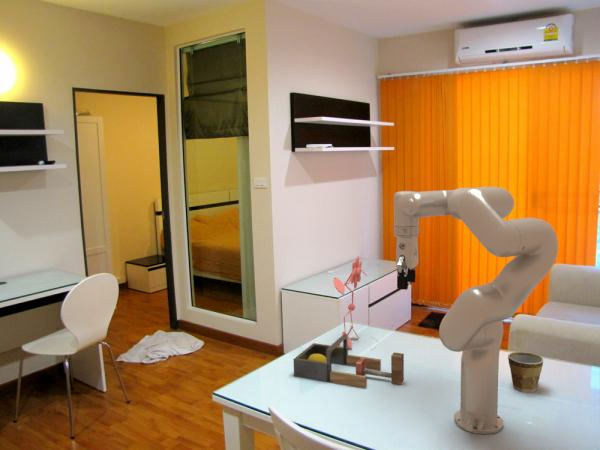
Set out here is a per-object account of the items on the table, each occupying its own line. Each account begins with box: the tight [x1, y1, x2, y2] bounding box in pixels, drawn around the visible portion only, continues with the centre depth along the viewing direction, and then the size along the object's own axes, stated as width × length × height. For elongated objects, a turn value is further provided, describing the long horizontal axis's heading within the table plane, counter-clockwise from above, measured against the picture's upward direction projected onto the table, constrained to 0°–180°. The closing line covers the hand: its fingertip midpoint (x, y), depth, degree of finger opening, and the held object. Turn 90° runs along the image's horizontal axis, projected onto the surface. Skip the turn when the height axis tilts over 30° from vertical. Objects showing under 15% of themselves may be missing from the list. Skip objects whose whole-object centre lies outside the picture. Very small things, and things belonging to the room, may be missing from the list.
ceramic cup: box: [507, 351, 544, 394], centre depth 163 cm, size 13×10×10 cm
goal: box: [293, 333, 349, 383], centre depth 180 cm, size 16×13×11 cm
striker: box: [355, 351, 405, 385], centre depth 171 cm, size 6×15×9 cm, turn 64°
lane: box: [329, 354, 382, 389], centre depth 175 cm, size 16×12×4 cm
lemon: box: [307, 354, 327, 363], centre depth 181 cm, size 6×6×8 cm
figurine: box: [333, 255, 379, 351], centre depth 202 cm, size 15×26×35 cm, turn 157°
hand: (406, 285), depth 164 cm, fingers open, 9 cm apart
